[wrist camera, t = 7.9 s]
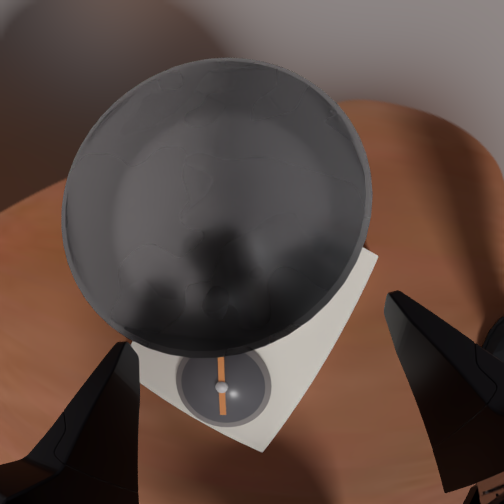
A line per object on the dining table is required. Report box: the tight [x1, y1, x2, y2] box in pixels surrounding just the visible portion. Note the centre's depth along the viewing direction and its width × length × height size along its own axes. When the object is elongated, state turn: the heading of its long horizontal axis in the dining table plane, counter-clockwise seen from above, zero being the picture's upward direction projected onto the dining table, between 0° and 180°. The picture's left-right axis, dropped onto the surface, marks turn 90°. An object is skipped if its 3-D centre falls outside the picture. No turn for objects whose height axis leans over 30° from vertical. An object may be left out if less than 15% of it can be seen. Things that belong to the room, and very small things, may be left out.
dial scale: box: [131, 247, 378, 453], centre depth 18 cm, size 16×12×2 cm
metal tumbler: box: [62, 58, 372, 358], centre depth 11 cm, size 5×5×14 cm
